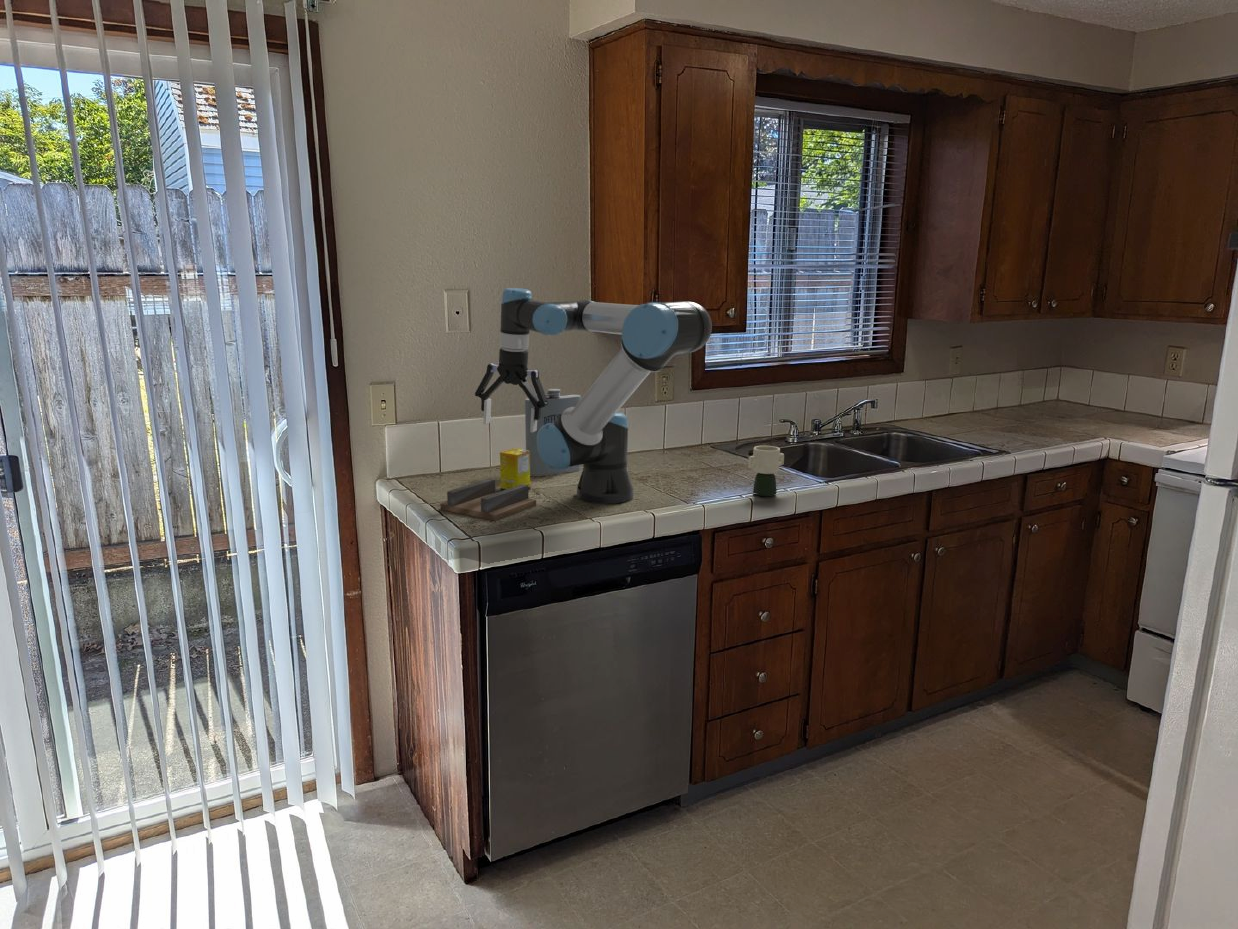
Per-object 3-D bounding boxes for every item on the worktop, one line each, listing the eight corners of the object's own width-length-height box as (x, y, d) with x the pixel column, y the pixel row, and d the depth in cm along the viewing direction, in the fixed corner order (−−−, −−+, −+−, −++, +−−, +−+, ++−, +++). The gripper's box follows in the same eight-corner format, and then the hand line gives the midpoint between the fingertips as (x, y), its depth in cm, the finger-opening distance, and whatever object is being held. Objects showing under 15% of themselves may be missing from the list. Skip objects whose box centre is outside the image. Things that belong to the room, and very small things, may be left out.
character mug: (774, 490, 237) (777, 444, 234) (789, 496, 231) (791, 449, 228) (740, 493, 233) (742, 447, 230) (753, 500, 227) (756, 452, 224)
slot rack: (536, 505, 221) (535, 486, 220) (495, 520, 207) (495, 500, 206) (482, 495, 230) (482, 477, 229) (440, 509, 217) (439, 490, 216)
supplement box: (513, 486, 239) (512, 447, 237) (531, 489, 236) (530, 450, 234) (500, 491, 234) (499, 451, 232) (517, 494, 231) (516, 454, 229)
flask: (531, 477, 249) (529, 392, 243) (524, 474, 253) (522, 389, 247) (584, 470, 257) (583, 387, 252) (576, 467, 261) (576, 385, 255)
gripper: (563, 353, 224) (558, 431, 231) (477, 340, 231) (474, 416, 237) (553, 357, 218) (547, 438, 224) (464, 344, 224) (461, 422, 231)
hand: (509, 427), depth 231 cm, fingers open, 13 cm apart
